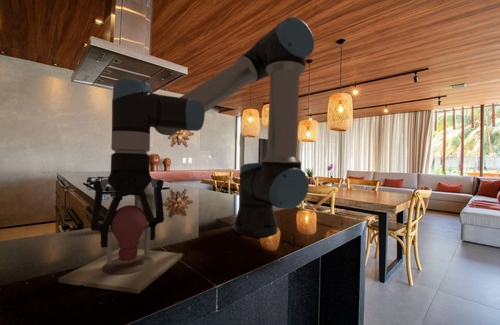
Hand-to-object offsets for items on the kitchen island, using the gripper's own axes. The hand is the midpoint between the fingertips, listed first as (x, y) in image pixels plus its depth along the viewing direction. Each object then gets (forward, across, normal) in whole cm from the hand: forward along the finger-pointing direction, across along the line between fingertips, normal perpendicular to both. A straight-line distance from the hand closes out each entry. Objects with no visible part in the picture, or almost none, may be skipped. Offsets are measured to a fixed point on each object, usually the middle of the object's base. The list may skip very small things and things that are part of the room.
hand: (128, 258), depth 53 cm
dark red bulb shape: (+1, 0, 0) cm, 1 cm away
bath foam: (+2, -10, -35) cm, 37 cm away
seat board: (+2, 0, 0) cm, 2 cm away
